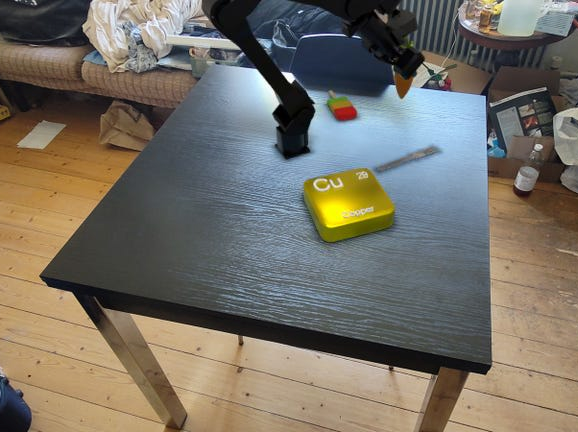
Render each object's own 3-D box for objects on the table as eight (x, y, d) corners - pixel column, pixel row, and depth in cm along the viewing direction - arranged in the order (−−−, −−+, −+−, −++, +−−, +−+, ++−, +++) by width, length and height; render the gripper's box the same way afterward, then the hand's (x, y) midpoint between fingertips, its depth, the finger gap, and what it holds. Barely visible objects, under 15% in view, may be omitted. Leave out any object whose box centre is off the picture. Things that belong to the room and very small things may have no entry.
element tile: (323, 245, 82) (323, 227, 79) (301, 196, 93) (300, 178, 89) (396, 226, 86) (399, 208, 83) (367, 181, 96) (368, 163, 93)
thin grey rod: (380, 172, 99) (380, 171, 98) (375, 168, 100) (375, 167, 100) (437, 151, 105) (438, 150, 105) (432, 147, 106) (433, 146, 106)
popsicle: (338, 121, 114) (338, 115, 113) (320, 95, 124) (320, 89, 123) (358, 118, 115) (358, 112, 114) (339, 92, 126) (339, 86, 125)
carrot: (410, 105, 109) (419, 44, 98) (390, 102, 109) (396, 42, 99) (412, 95, 112) (420, 36, 102) (392, 93, 113) (399, 34, 103)
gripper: (424, 14, 87) (457, 59, 98) (376, -13, 99) (410, 30, 110) (386, 59, 90) (423, 98, 101) (344, 28, 102) (381, 66, 113)
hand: (409, 71), depth 106 cm, fingers closed on carrot, 5 cm apart
